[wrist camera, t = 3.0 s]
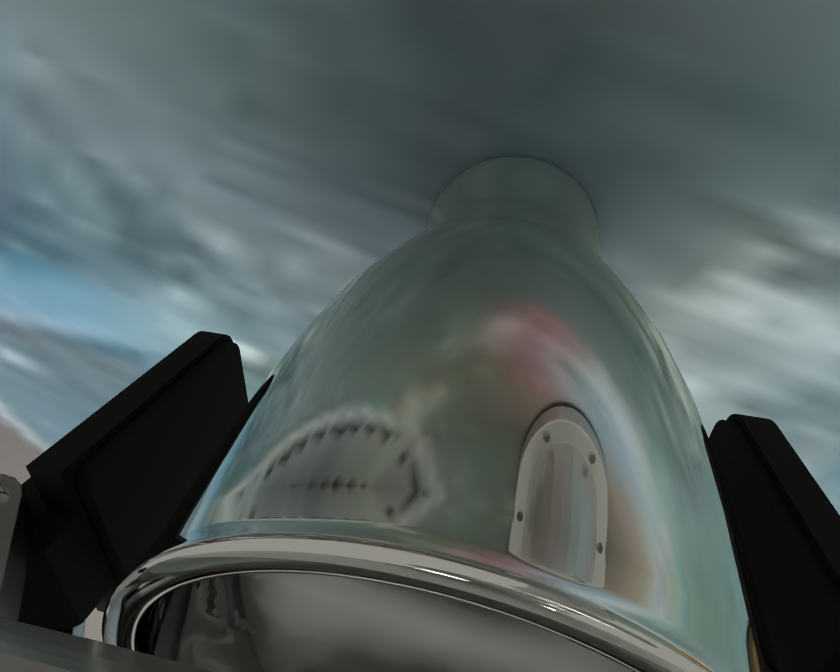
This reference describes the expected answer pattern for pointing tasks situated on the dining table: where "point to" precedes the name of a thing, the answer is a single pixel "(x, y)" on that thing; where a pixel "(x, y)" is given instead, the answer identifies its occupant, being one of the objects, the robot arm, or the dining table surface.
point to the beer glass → (462, 475)
